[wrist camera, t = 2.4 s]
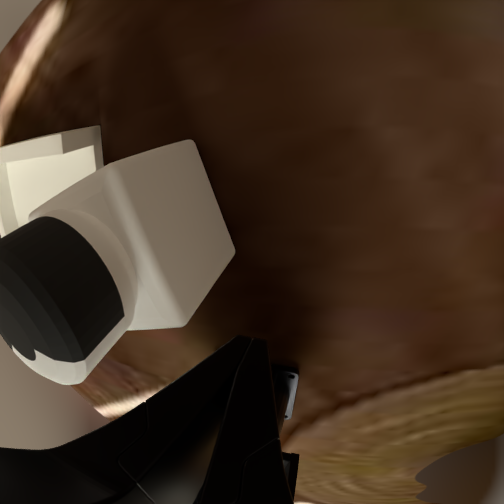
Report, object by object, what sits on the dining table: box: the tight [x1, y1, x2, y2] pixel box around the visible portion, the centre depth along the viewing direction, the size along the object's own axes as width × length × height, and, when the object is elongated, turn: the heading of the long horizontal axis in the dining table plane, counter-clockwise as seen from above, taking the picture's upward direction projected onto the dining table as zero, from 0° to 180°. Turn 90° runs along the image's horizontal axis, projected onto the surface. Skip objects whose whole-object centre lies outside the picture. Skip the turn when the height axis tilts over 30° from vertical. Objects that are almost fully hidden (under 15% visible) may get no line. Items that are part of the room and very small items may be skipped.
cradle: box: [0, 125, 104, 238], centre depth 19 cm, size 11×13×4 cm
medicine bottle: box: [0, 139, 235, 385], centre depth 13 cm, size 7×7×12 cm
